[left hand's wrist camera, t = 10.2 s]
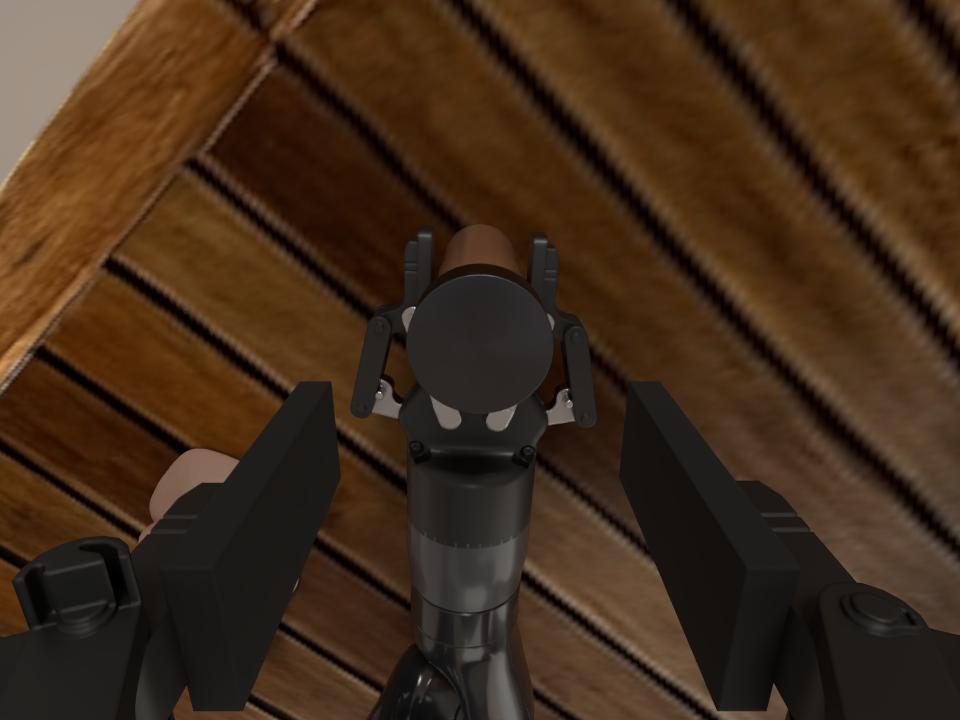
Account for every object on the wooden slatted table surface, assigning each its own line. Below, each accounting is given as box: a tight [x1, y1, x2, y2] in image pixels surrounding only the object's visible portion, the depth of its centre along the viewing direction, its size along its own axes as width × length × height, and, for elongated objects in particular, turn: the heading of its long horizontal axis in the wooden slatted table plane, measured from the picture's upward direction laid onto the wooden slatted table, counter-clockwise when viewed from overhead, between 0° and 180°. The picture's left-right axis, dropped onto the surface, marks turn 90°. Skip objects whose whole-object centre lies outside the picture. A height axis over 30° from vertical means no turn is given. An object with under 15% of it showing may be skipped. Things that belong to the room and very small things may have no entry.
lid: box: [406, 263, 554, 414], centre depth 21 cm, size 5×5×2 cm
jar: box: [437, 224, 523, 278], centre depth 28 cm, size 4×4×16 cm
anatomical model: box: [139, 449, 299, 591], centre depth 41 cm, size 13×4×12 cm
